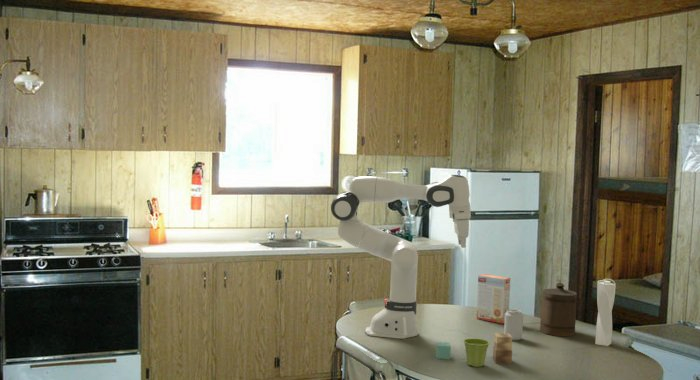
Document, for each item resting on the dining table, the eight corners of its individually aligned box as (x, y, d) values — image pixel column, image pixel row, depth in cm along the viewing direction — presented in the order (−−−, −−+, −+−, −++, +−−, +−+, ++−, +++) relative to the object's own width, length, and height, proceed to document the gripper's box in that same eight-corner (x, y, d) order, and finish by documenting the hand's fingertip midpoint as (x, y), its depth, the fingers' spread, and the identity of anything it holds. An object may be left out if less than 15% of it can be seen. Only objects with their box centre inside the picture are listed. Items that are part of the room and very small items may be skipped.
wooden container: (580, 332, 324) (583, 283, 323) (565, 338, 313) (568, 287, 312) (549, 326, 334) (552, 278, 333) (533, 331, 323) (536, 282, 322)
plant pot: (459, 360, 274) (460, 337, 274) (484, 361, 275) (485, 338, 275) (465, 368, 265) (467, 344, 264) (491, 368, 266) (492, 345, 265)
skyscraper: (610, 347, 301) (613, 279, 299) (591, 344, 305) (595, 277, 303) (614, 343, 308) (618, 277, 306) (596, 340, 312) (600, 275, 310)
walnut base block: (495, 363, 273) (495, 350, 272) (492, 358, 279) (493, 345, 278) (511, 364, 272) (512, 351, 272) (508, 359, 278) (509, 346, 278)
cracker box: (509, 322, 340) (511, 277, 339) (502, 324, 335) (504, 279, 334) (482, 317, 349) (484, 273, 348) (475, 318, 344) (477, 274, 343)
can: (522, 341, 306) (523, 313, 305) (503, 340, 307) (505, 311, 306) (521, 337, 313) (523, 309, 312) (503, 335, 314) (505, 308, 314)
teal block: (436, 358, 276) (437, 345, 276) (435, 355, 281) (436, 342, 281) (450, 359, 276) (450, 346, 276) (448, 355, 281) (449, 342, 281)
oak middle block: (496, 350, 273) (497, 336, 272) (494, 346, 278) (494, 333, 278) (511, 350, 272) (512, 337, 272) (508, 346, 278) (509, 333, 278)
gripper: (450, 211, 317) (452, 243, 318) (454, 216, 297) (457, 249, 298) (464, 210, 317) (466, 242, 318) (470, 215, 297) (472, 248, 297)
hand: (462, 246), depth 308 cm, fingers open, 8 cm apart
